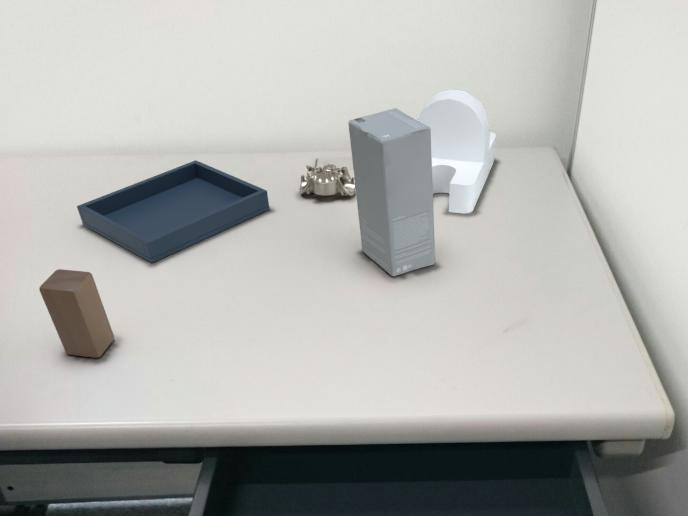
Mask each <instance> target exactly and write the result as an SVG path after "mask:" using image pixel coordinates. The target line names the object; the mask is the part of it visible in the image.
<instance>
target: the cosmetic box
mask: <svg viewBox="0 0 688 516" xmlns="http://www.w3.org/2000/svg"><path fill="white" fill-rule="evenodd" d="M348 132H349V142H350V151H351V158H352V159H351V160H352V168H353V177H354V178H355V187H356V188H355V195H356V196H355V197H356V204H357V213H358V223H359V230H360V231H359V233H360V241H361V252H362V253H364V254H365V255H366V256H368V257H369V259H371V260H372V261H373V262H375V263H376V264H377V265H378V266H379V267H381V269H383V270H384V271H385V272H386V273H388V274H389V275H390V276H392V277H396V276H399V275H400V276H401V275H403V274H405V273H409V272H411V271H415V270H418V269H422V268H425V267H429V266H433V265H435V264H436V242H435V239H436V238H435V213H434V212H435V211H434V194H433V183H432V156H431V128H430V127H428V126H426V125H424V124H423V123H421V122H419V121H417V119H415V118H413V117H412V116H410V115H408V114H407V113H405V112H403V111H402V110H400V109H398V108H397V107H395V108H391V109H386V110H383V111H379V112H376V113H373V114H368V115H365V116H361V117H357V118H353V119H349V120H348Z"/></svg>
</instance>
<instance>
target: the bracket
mask: <svg viewBox="0 0 688 516" xmlns="http://www.w3.org/2000/svg"><path fill="white" fill-rule="evenodd" d="M416 120H417V121H419V122H421V123H423V124H424V125H426V126H428V127H430V128H431V156H432V183H433V195H434V194H440V193H441V194H448V195H449V197H448V213H454V214H455V213H456V214H464V215H465V214H471V213H473V211H474V209H475V207H476V205H477V203H478V200H479V198H480V195H481V193H482V191H483V188H484V186H485V184H486V182H487V179H488V177H489V174H490V172H491V170H492V167H493V165H494V162H495V151H496V140H497V134H496V133H495V132H493V131H490V130H491V129H490V128H491V127H490V125H491V124H490V120H489V116H488V113H487V111H486V109H485V108H484V106H483V104H482V103H481V101H480V100H478V98H476V97H475V96H474V95H472V94H470V93H469V92H467V91H465V90H460V89H446V90H443V91H441V92H438V93H437V94H435V95H434V96H433V97H431V99H429V100H428V102H427V103H426V105H425V106H424V108H423V109H422V111H421V112H420V113H419V115H418V116H417V118H416Z"/></svg>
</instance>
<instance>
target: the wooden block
mask: <svg viewBox="0 0 688 516" xmlns="http://www.w3.org/2000/svg"><path fill="white" fill-rule="evenodd" d="M38 289H39V292H40V296H41V297H42V300H43V302H44V305H45V307H46V309H47V311H48V314H49V317H50V319H51V321H52V323H53V326H54V329H55V330H56V333H57V336H58V337H59V340H60V342H61V345H62V347H63V349H64V352H65V354H67V355H69V356H77V357H85V358H86V357H87V358H95V359H98V358H100V357H102V356H103V354H104V353H105V351H106V350H107V349H108V348H109V346H110V345H111V344H112V343H113V341H115V335H114V331H113V329H112V326H111V324H110V321H109V318H108V316H107V312H106V310H105V306H104V304H103V301H102V298H101V296H100V293H99V289H98V287H97V285H96V281H95V279H94V276H93V274H92V273H91V272H90V271H83V270H73V269H62V268H60V269H59V268H58V269H56V270H55V271H54V272H53V273H51V275H50V276H49V277H48V278H47V279H46V280H45V281H43V283H41V284H40V286H39V288H38Z"/></svg>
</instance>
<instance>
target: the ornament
mask: <svg viewBox="0 0 688 516" xmlns="http://www.w3.org/2000/svg"><path fill="white" fill-rule="evenodd" d="M305 168H306V170H307V172H306V176H305V175H304V174H301V176H300V185H299V190H298V191H299V194H307V196H309V195H311V194H312V193H313V194H314V195H318V196H334V195H337V194H339V195H340V196H341V197H347V196H349V197H352V196H354V195H355V194H356V187H355V177H354V176H352V177H351V175H350V173H349V170H348V167H347V166H342V167H337V166H336V165H335V164H332V163H331V164H330V163H328V164H324V165H323V167H322V166H316V167H315V166H311V165H306V166H305Z"/></svg>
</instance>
